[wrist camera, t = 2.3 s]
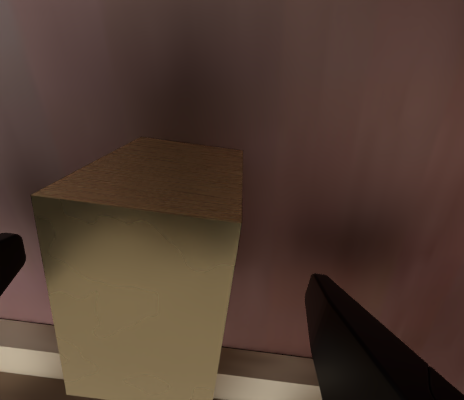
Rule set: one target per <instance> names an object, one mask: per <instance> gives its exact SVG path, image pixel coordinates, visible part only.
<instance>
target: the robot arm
mask: <svg viewBox="0 0 464 400" xmlns="http://www.w3.org/2000/svg"><path fill="white" fill-rule="evenodd" d="M25 260H26V254H25V250H24V245H23V240H22V237H21V236H20V235H18V234H12V233H1V234H0V296H1V295H2V293H3V292H4V291H5V289H6V288H7V287H8V285H9V284H10V283H11V281H12V280H13V279H14V277H15V276H16V275H17V273H18V272H19V271H20V269H21V268H22V267H23V265H24V263H25ZM305 306H306V314H307V323H308V331H309V340H310V347H311V353H312V357H313V362H314V366H315V371H316V375H317V379H318V383H319V388H320V392H321V396H322V400H464V395H463V394H462V393H461V392H460V391H458V390H457V389H456V388H455V387H454V386H453V385H451V384H450V383H449V382H448V381H447V380H445V379H444V378H443V377H442V376H441V375H440V374H439V373H438V372H436V371H435V370H434V369H433V368H432V367H430V366H429V367H428V364H427V363H426V362H425V361H424V360H423V359H421V358H420V357H419V356H418V355H417V354H416V353H415V352H413V351H412V350H411V349H410V348H409V347H408V346H407V345H405V344H404V343H403V342H402V341H401V340H400V339H399V338H397V337H396V336H395V335H394V334H393V333H392V332H391V331H389V330H388V329H387V328H386V327H385V326H384V325H383V324H381V323H380V322H379V321H378V320H377V319H376V318H375V317H373V316H372V315H371V314H370V313H369V312H368V311H367V310H365V309H364V308H363V307H362V306H361V305H360V304H359V303H357V302H356V301H355V300H354V299H353V298H352V297H351V296H349V295H348V294H347V293H346V292H345V291H344V290H343V289H342V288H340V287H339V286H338V285H337V284H336V283H335V282H334V281H332V280H331V279H330V278H329V277H328V276H326V275H323V274H316V273H314V274H312V275H311V277H310V280H309V284H308V287H307V290H306V294H305Z"/></svg>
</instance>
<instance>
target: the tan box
mask: <svg viewBox="0 0 464 400" xmlns="http://www.w3.org/2000/svg"><path fill="white" fill-rule="evenodd" d="M242 173H243V151H241V150H234V149H227V148H220V147H212V146H205V145H198V144H191V143H183V142H176V141H169V140H162V139H154V138H147V137H140V138H138V139H136V140H134V141H132V142H130V143H128V144H126V145H125V146H123V147H121V148H119V149H117V150H115V151H113V152H111V153H109V154H107V155H106V156H104V157H102V158H100V159H98V160H96V161H94V162H92V163H90V164H89V165H87V166H85V167H83V168H81V169H79V170H77V171H75V172H73V173H71V174H70V175H68V176H66V177H64V178H62V179H60V180H58V181H56V182H54V183H52V184H51V185H49V186H47V187H45V188H43V189H41V190H39V191H37V192H35V193H34V194H32V195H31V200H32V206H33V211H34V217H35V222H36V228H37V234H38V239H39V245H40V250H41V256H42V261H43V267H44V272H45V278H46V283H47V289H48V294H49V300H50V306H51V311H52V317H53V322H54V328H55V333H56V339H57V344H58V350H59V355H60V361H61V366H62V372H63V378H64V383H65V389H66V394H67V395H73V396H81V397H89V398H97V399H105V400H213V396H214V390H215V384H216V378H217V371H218V365H219V359H220V353H221V347H222V341H223V335H224V328H225V322H226V316H227V310H228V304H229V298H230V292H231V285H232V279H233V273H234V267H235V261H236V255H237V249H238V242H239V236H240V230H241V224H242Z"/></svg>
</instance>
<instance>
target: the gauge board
mask: <svg viewBox="0 0 464 400" xmlns="http://www.w3.org/2000/svg"><path fill="white" fill-rule="evenodd" d="M0 400H105V399H97V398H89V397H81V396H73V395H67V394H66V389H65V383H64V378H63V372H62V366H61V361H60V355H59V350H58V344H57V339H56V333H55V328H54V326H52V325H44V324H36V323H29V322H21V321H13V320H5V319H0ZM213 400H322V396H321V392H320V388H319V383H318V379H317V375H316V371H315V366H314V362H313V359H310V358H302V357H294V356H287V355H279V354H271V353H263V352H255V351H248V350H240V349H232V348H224V347H221V353H220V359H219V365H218V371H217V378H216V384H215V390H214V396H213Z"/></svg>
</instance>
